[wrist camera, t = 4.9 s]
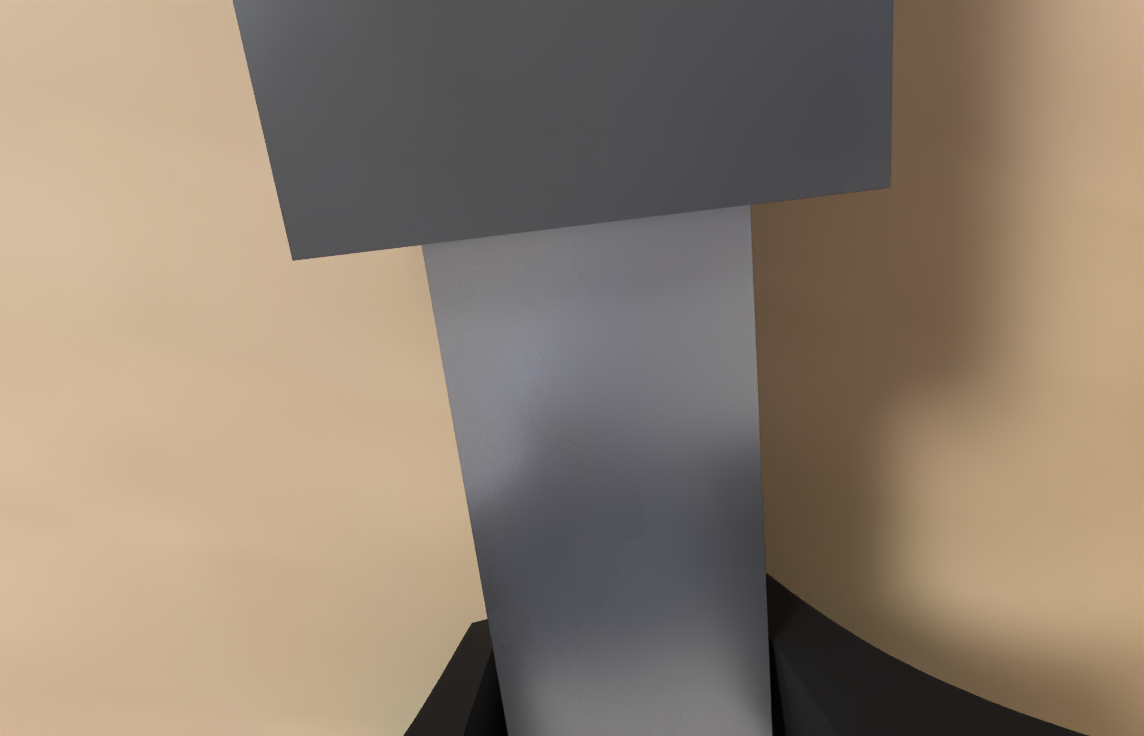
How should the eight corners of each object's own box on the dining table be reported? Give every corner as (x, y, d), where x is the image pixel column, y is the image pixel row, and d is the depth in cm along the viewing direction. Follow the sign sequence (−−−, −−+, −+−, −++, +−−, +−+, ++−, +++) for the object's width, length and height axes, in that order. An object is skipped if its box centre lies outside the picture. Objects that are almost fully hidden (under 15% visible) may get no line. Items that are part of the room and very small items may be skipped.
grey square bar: (656, -85, 9) (730, -264, 6) (722, 842, 14) (785, 1057, 10) (414, -57, 9) (339, -224, 6) (562, 866, 14) (570, 1091, 10)
